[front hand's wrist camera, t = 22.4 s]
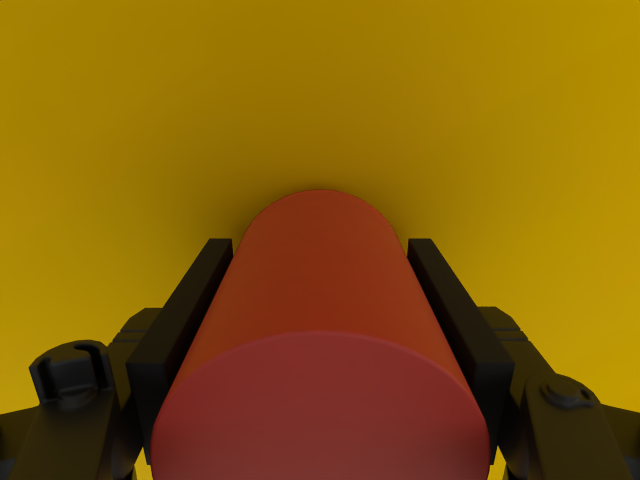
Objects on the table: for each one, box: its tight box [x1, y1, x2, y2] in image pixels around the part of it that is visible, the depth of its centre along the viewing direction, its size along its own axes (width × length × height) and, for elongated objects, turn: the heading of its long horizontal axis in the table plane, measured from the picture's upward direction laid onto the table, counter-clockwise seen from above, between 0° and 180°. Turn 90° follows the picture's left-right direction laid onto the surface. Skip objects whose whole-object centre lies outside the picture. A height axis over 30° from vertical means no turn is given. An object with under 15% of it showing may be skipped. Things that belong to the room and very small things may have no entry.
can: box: [150, 190, 491, 480], centre depth 11 cm, size 6×6×8 cm
